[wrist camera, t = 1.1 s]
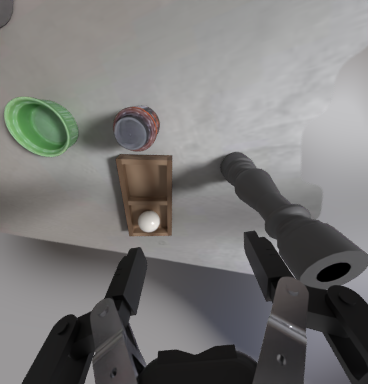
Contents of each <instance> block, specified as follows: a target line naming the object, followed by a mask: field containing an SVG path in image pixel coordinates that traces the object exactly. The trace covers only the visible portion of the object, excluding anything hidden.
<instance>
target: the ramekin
mask: <svg viewBox="0 0 368 384" xmlns="http://www.w3.org/2000/svg"><path fill="white" fill-rule="evenodd" d="M4 119H5V123H6V126H7V128H8V130H9V132H10V133H11V135H12V136H13V138H14V139H15V140H16V141H17V142H18V143H19V144H20V145H22V146H23V147H24V148H25V149H27V150H29V151H30V152H32V153H34V154H37V155H40V156H45V157H55V156H58V155H61V154H62V153H64V152H65V151H66V150H67V149H68V148H69V147H71V146H72V145H73V144H74V143H75V142H76V140H77V138H78V127H77V124H76V122H75V120H74V118H73V117H72V115H71V114H70V113H69V112H68V111H67V110H66V109H65V108H64V107H62V106H61V105H59V104H57V103H55V102H52V101H48V100H39V99H36V98H31V97H17V98H15V99H12V100H11V101H10V102H9V103H8V104H7V105H6V107H5V111H4Z"/></svg>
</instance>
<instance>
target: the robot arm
mask: <svg viewBox="0 0 368 384" xmlns="http://www.w3.org/2000/svg"><path fill="white" fill-rule="evenodd" d="M12 11H13V0H0V27H2V26H3V25H5V24H6V23H7V22H8V21H9V19H10V17H11V14H12ZM244 249H245V253H246V256H247V258H248V260H249V263H250V265H251V267H252V270H253V272H254V274H255V277H256V279H257V281H258V284H259V286H260V288H261V290H262V293H263V295H264V298H265V300H266V301H272V303H273V305H272V309H271V314H270V316H269V319H268V322H267V327H266V331H265V335H264V339H263V343H262V347H261V352H260V355H259V359H258V363H257V362H256V361H255V360H254V359H252V358H251V357H250V356H248V355H246V354H244V353H242V352H240V351H236V350H235V345H223V346H215V347H212V348H210V349H208V350H206V351H204V352H202V353H199V354H197V355H193V354H190V353H187V352H183V351H179V350H166V351H158V358H156V359H155V360H153V361H152V362H150V363H149V364H148V365H146V362H145V360H144V358H143V356H142V354H141V352H140V350H139V348H138V345H137V342H136V339H135V337H134V334H133V331H132V329H131V326H130V323H129V318H130V316H132V315H136V314H137V309H138V305H139V300H140V296H141V291H142V287H143V283H144V279H145V274H146V270H147V260H146V258H145V256H144V253H143V251H142V249H141V248H140V247H138V248H131V249H130V250H129V252H128V255H127V256H124V257H123V259H122V260H121V261H120V263H119V264H118V267H117V270H116V272H115V274H114V276H113V279H112V281H111V284H110V286H109V289H108V291H107V293H106V296H105V298H104V299H103V300H101V301H100V302H99V303H97V304H96V306H95V307H94V308H93V310H92V311H91V312H89V313H87V314H85V315H82V316H80V317H78V318H77V317H76V316H74V315H72V314H70V315H67V316H65V317H63V318H62V319H60V320H59V321H58V322H57V323H56V324H55V326H54V327H53V328H52V330H51V332H50V333H49V335H48V337H47V339H46V341H45V343H44V344H43V346H42V348H41V350H40V351H39V353H38V355H37V357H36V359H35V360H34V362H33V364H32V366H31V368H30V369H29V371H28V373H27V375H26V377H25V378H24V380H23V382H22V384H84V383H85V379H86V376H87V373H88V370H89V367H90V364H91V361H92V363H93V370H94V377H95V383H96V384H304V372H305V359H306V345H307V338H306V328H309V329H313V330H316V331H320V332H323V334H324V336H325V338H326V340H327V341H328V343H329V344H330V347H331V348H332V350H333V352H334V353H335V355H336V357H337V359H338V360H339V362H340V364H341V366H342V368H343V369H344V371H345V373H346V375H347V376H348V378H349V380H350V382H351V383H352V384H368V304H367V303H366V302H365V301H364V299H363V298H362V297H360V295H358V294H357V293H356V292H354V291H353V290H351V289H349V288H347V287H344V286H340V285H333V286H330V287H329V288H328V290H325V289H319V288H314V287H309V286H307V285H304V284H303V283H302V282H301V281H299V280H297V279H295V278H294V276H293V275H292V274H291V272H290V271H289V269H288V268H287V266H286V265H285V263H284V262H283V260H282V258H281V257H280V255H278V252H277V251H276V249H275V248H274V246H273V245H272V243H271V242H270V241H269V240H268V239H266V238H265V237H260V238H259V237H258V235H257V233H256V232H255V231H249V232H244ZM94 352H96V354H95V355H94ZM93 355H94V356H93ZM92 358H93V359H92Z"/></svg>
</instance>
